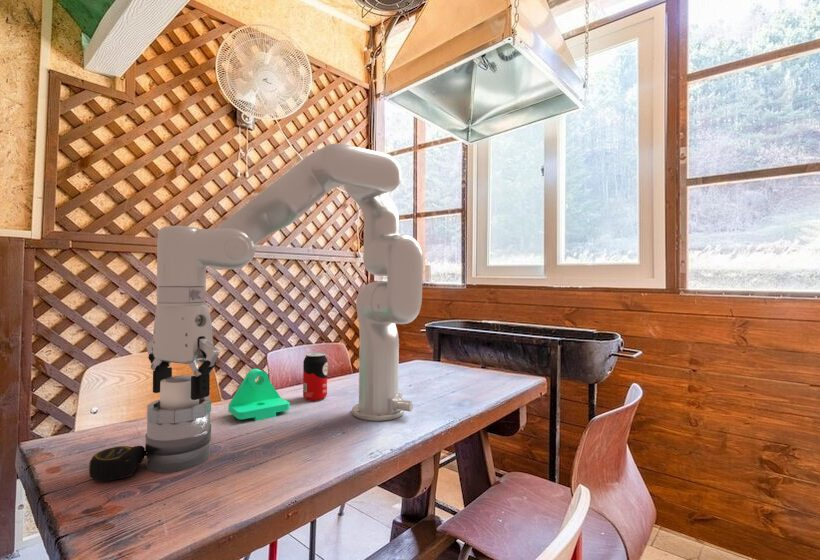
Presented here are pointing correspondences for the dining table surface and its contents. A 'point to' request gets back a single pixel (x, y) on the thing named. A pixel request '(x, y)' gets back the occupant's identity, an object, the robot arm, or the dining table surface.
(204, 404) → the grey hollow cylinder
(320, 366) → the beverage can
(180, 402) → the cap
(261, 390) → the camera mount
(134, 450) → the tape measure
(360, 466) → the dining table surface
